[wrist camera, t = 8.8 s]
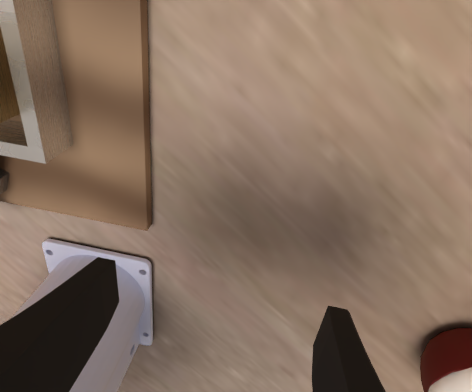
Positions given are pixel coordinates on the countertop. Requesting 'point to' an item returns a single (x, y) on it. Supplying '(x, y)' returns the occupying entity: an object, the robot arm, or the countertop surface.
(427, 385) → the cocoa
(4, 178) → the shaft
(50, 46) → the hollow square frame
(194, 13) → the countertop surface
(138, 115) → the walnut base plate
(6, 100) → the wooden block
